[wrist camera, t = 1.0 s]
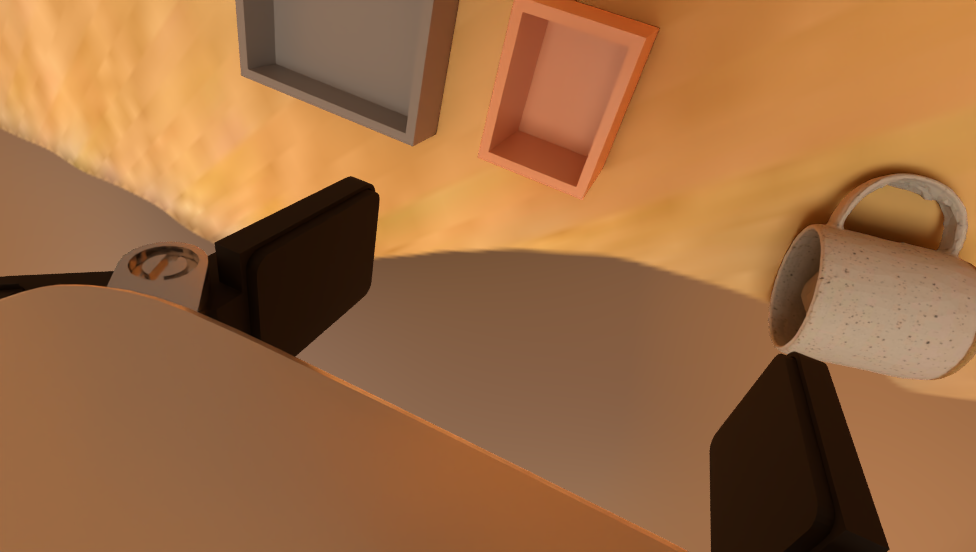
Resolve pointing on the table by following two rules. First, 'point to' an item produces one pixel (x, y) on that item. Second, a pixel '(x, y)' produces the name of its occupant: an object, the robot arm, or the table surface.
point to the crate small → (563, 91)
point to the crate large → (354, 57)
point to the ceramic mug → (879, 293)
